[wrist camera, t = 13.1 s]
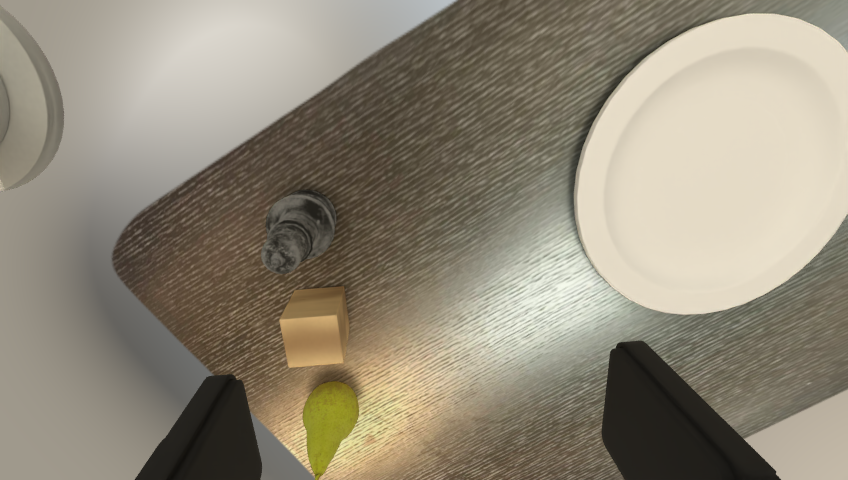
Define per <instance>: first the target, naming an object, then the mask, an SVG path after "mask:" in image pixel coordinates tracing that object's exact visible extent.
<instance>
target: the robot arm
mask: <svg viewBox="0 0 848 480" xmlns="http://www.w3.org/2000/svg"><path fill="white" fill-rule="evenodd" d="M9 116H10V114H9V101H8V97H7V93H6V89H5V86H4V84H3V81H2V79H1V77H0V143H1V142H2V141H3V139H4V136H5V134H6V131H7V129H8V123H9ZM602 439H603V442H604V445H605V447H606V449H607V450H608V452H609V454H610V455H611V457H612V459H613V460H614V462H615V464H616V465H617V467H618V469H619V470H620V472H621V474H622V475H623V477H624V479H625V480H781V479H780V478H779V477H778V476H777V475H776V471H775V470H774V469H773V468H772V467H771V466H770V465H769V464H768V463H767V462H766V461H765V460H764V459H763V458H762V457H761V456H760V455H759V454H758V453H757V452H756V451H755V450H754V449H753V448H752V447H751V446H750V445H749V444H748V443H747V442H746V441H745V440H744V439H743V438H742V437H741V436H740V435H739V434H738V433H737V432H736V431H735V430H734V429H733V428H732V427H731V426H730V425H729V424H728V423H727V422H726V421H725V420H724V419H722V418H721V417H720V416H719V415H718V414H717V413H716V412H715V411H714V410H713V409H712V408H711V407H710V406H709V405H708V404H707V403H706V402H705V401H704V400H703V399H702V398H701V397H700V396H699V395H698V394H697V393H696V392H695V391H694V390H693V389H692V388H691V387H690V386H689V385H688V384H687V383H686V382H685V381H684V380H683V379H682V378H681V377H680V376H679V375H678V374H677V373H676V372H675V371H674V370H673V369H672V368H671V367H670V366H669V365H668V364H667V363H666V362H665V361H663V360H662V359H661V358H660V357H659V356H658V355H657V354H656V353H655V352H654V351H653V350H652V349H651V348H650V347H649V346H648V345H647V344H646V343H645V342H643V341H631V342H620V343H618V344H617V346H616V349H612V350H611V352H610V359H609V368H608V377H607V387H606V396H605V405H604V414H603V423H602ZM261 473H262V462H261V458H260V453H259V449H258V445H257V440H256V436H255V432H254V427H253V423H252V419H251V414H250V410H249V406H248V401H247V397H246V393H245V388H244V384H243V382H242V380H236V378H235V376H234V375H232V374H229V375H217V376H209V377H207V378H206V379H205V380H204V381H203V383H202V385H201V386H200V387H199V389H198V390H197V392H196V393H195V395H194V396H193V398H192V399H191V401H190V402H189V404H188V405H187V407H186V408H185V410H184V411H183V412H182V414H181V416H180V417H179V418H178V420H177V421H176V423H175V424H174V426H173V427H172V429H171V430H170V432H169V433H168V435H167V436H166V438H165V439H163V440H162V442H161V443H160V444H159V445H158V446H157V448H156V449H155V451H154V452H153V454H152V455H151V457H150V458H149V460H148V461H147V462H146V464H145V465H144V467H143V468H142V470H141V472H140V473H139V474H138V476H137V477H136V479H135V480H260V478H261Z"/></svg>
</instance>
